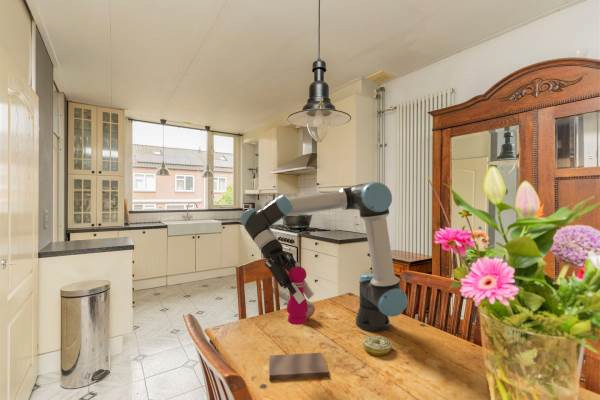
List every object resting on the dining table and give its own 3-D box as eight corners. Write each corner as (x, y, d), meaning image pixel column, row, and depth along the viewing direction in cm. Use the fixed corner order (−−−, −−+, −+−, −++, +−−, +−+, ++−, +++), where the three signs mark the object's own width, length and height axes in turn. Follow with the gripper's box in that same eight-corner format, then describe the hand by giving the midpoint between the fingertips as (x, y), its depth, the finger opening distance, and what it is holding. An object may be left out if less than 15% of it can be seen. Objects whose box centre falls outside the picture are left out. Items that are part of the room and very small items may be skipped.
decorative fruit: (292, 318, 141) (292, 297, 141) (305, 314, 146) (305, 294, 146) (304, 324, 134) (304, 302, 134) (317, 320, 139) (318, 299, 139)
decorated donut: (396, 349, 112) (396, 339, 112) (383, 361, 104) (383, 350, 104) (372, 340, 119) (372, 331, 119) (358, 350, 111) (358, 340, 111)
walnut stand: (321, 356, 106) (321, 352, 106) (328, 376, 94) (328, 371, 94) (269, 359, 104) (269, 355, 104) (269, 380, 92) (269, 375, 92)
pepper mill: (305, 326, 95) (306, 264, 95) (284, 324, 97) (284, 263, 97) (309, 317, 102) (309, 260, 102) (289, 316, 104) (289, 259, 104)
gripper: (278, 248, 116) (313, 298, 106) (246, 255, 101) (283, 313, 91) (289, 235, 113) (326, 285, 103) (257, 241, 98) (298, 300, 88)
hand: (306, 298), depth 97 cm, fingers closed on pepper mill, 5 cm apart
